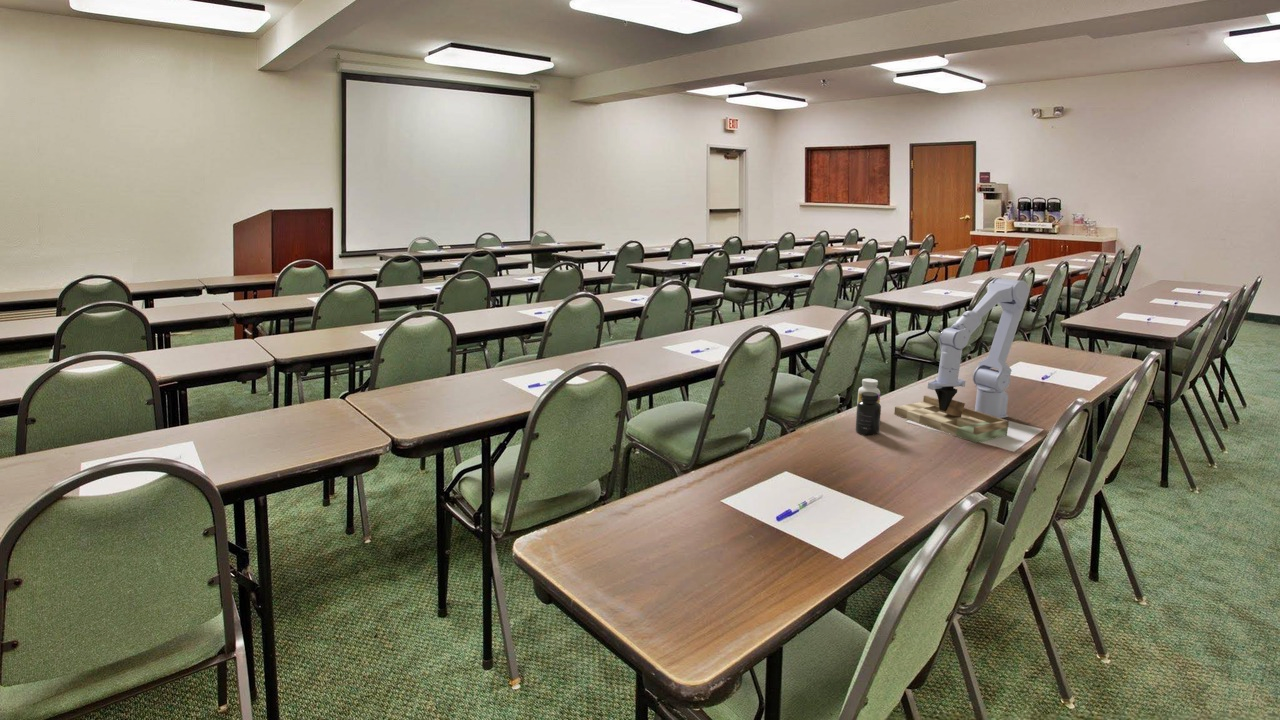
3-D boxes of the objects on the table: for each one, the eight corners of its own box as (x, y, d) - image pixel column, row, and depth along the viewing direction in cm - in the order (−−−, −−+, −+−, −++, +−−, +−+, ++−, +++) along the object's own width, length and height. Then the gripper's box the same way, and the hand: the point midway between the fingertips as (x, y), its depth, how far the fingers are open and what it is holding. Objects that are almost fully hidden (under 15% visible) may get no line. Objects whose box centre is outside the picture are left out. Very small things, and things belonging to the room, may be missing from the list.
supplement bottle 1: (879, 423, 220) (882, 383, 217) (856, 422, 221) (860, 382, 218) (876, 417, 226) (879, 378, 223) (855, 415, 228) (858, 377, 225)
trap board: (924, 408, 236) (925, 395, 235) (1006, 435, 210) (1008, 420, 209) (894, 414, 229) (895, 400, 228) (975, 442, 203) (977, 427, 202)
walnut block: (948, 413, 222) (952, 399, 222) (960, 417, 218) (965, 403, 218) (939, 411, 220) (943, 397, 220) (951, 415, 216) (956, 401, 216)
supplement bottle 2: (859, 427, 217) (862, 389, 214) (881, 431, 213) (885, 392, 210) (851, 433, 211) (854, 394, 208) (875, 437, 207) (878, 398, 205)
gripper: (954, 363, 223) (948, 404, 226) (922, 366, 216) (916, 408, 219) (973, 368, 217) (967, 410, 220) (941, 371, 210) (935, 415, 213)
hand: (943, 410), depth 219 cm, fingers closed, pressing on walnut block
